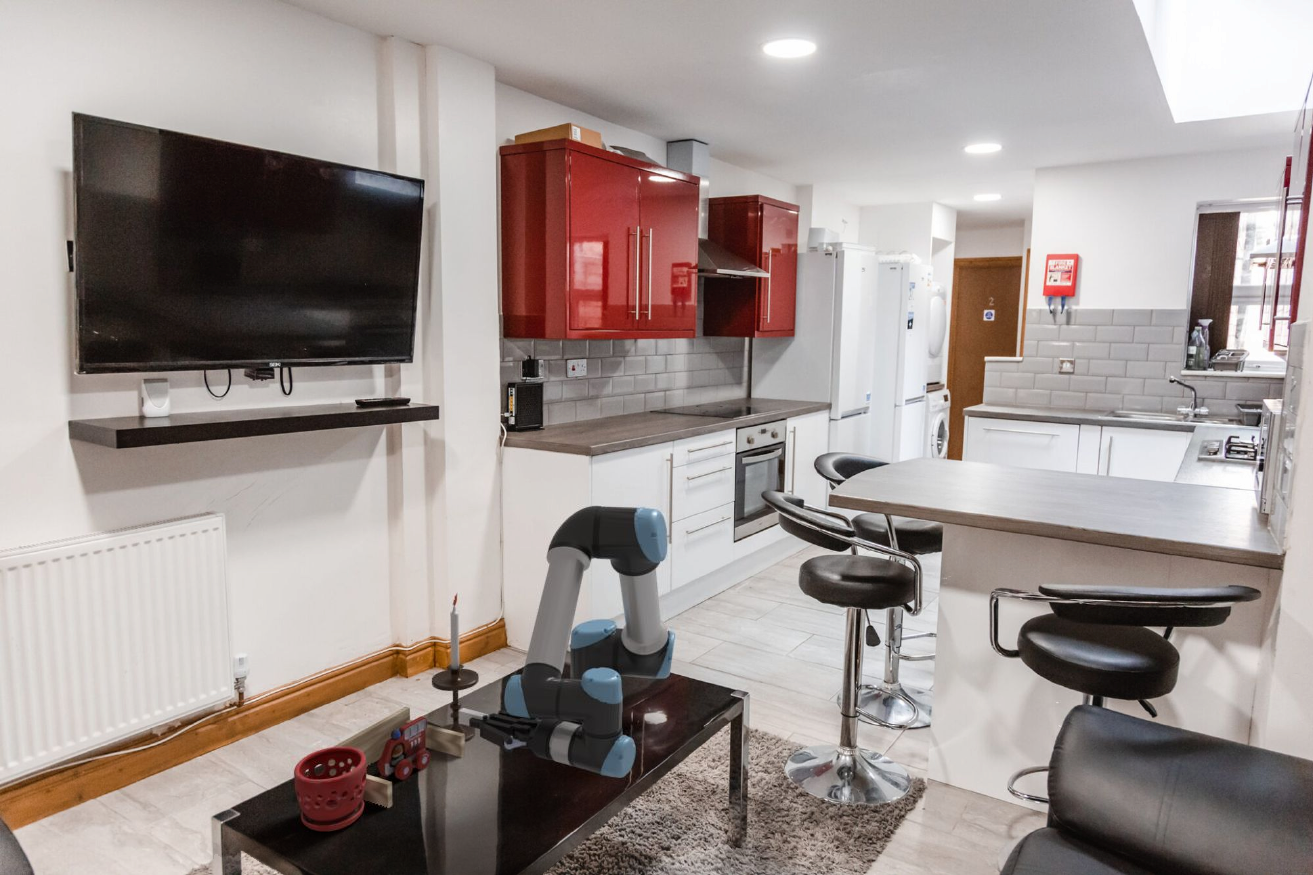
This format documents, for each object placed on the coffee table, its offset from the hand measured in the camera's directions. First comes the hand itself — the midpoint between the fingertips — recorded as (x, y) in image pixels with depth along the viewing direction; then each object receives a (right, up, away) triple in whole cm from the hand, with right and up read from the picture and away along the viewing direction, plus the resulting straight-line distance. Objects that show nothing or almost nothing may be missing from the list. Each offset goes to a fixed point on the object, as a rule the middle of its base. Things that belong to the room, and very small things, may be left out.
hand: (461, 715), depth 170 cm
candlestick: (-8, -14, +27) cm, 32 cm away
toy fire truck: (-15, -16, +11) cm, 25 cm away
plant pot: (-23, -18, -8) cm, 31 cm away
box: (-16, -16, +10) cm, 25 cm away
